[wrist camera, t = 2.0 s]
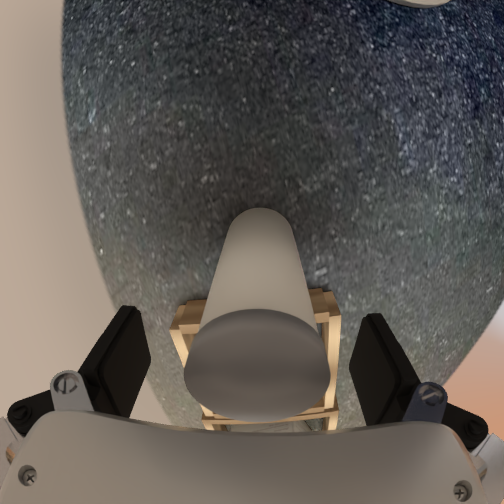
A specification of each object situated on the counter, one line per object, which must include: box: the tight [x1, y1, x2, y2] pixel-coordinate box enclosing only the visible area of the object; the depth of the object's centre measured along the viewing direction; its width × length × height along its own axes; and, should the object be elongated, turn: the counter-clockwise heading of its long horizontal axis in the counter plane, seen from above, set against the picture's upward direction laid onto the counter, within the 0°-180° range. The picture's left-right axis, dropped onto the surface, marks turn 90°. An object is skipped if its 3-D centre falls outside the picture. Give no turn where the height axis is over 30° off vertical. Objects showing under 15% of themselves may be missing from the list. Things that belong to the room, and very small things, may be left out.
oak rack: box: [169, 288, 341, 431], centre depth 25 cm, size 25×13×3 cm, turn 8°
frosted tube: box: [184, 208, 331, 422], centre depth 14 cm, size 5×5×12 cm
